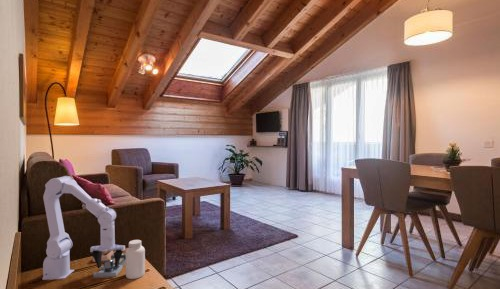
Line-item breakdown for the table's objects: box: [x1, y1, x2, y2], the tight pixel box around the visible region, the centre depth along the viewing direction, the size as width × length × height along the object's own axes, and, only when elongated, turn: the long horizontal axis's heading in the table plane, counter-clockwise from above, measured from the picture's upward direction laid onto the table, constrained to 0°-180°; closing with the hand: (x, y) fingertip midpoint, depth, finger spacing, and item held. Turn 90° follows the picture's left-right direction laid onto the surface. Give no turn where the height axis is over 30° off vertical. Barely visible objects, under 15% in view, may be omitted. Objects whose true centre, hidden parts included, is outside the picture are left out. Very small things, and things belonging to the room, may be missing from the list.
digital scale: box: [110, 253, 126, 267], centre depth 137 cm, size 10×8×3 cm
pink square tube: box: [92, 251, 114, 263], centre depth 143 cm, size 7×7×3 cm
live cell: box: [103, 258, 114, 272], centre depth 128 cm, size 4×4×6 cm
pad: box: [113, 258, 124, 264], centre depth 137 cm, size 5×5×1 cm
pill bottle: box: [125, 239, 146, 280], centre depth 126 cm, size 8×8×15 cm
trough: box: [92, 265, 124, 279], centre depth 128 cm, size 10×8×2 cm
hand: (108, 266), depth 128 cm, fingers open, 7 cm apart
